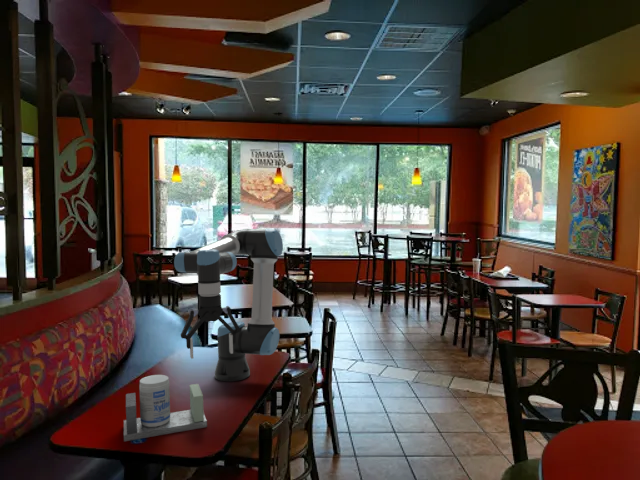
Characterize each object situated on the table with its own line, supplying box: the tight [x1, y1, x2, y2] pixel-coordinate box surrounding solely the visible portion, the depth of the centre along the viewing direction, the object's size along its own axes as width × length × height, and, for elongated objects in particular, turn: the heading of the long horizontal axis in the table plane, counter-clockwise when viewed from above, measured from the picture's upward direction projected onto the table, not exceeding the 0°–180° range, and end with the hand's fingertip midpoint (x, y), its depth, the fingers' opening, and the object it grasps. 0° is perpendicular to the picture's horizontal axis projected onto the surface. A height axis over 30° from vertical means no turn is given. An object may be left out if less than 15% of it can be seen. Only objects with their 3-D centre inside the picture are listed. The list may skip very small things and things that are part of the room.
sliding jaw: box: [189, 383, 205, 422], centre depth 170 cm, size 3×12×9 cm, turn 21°
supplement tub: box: [139, 374, 171, 427], centre depth 165 cm, size 10×10×15 cm
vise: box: [123, 392, 208, 442], centre depth 166 cm, size 26×12×11 cm, turn 111°
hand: (211, 355), depth 171 cm, fingers open, 13 cm apart
